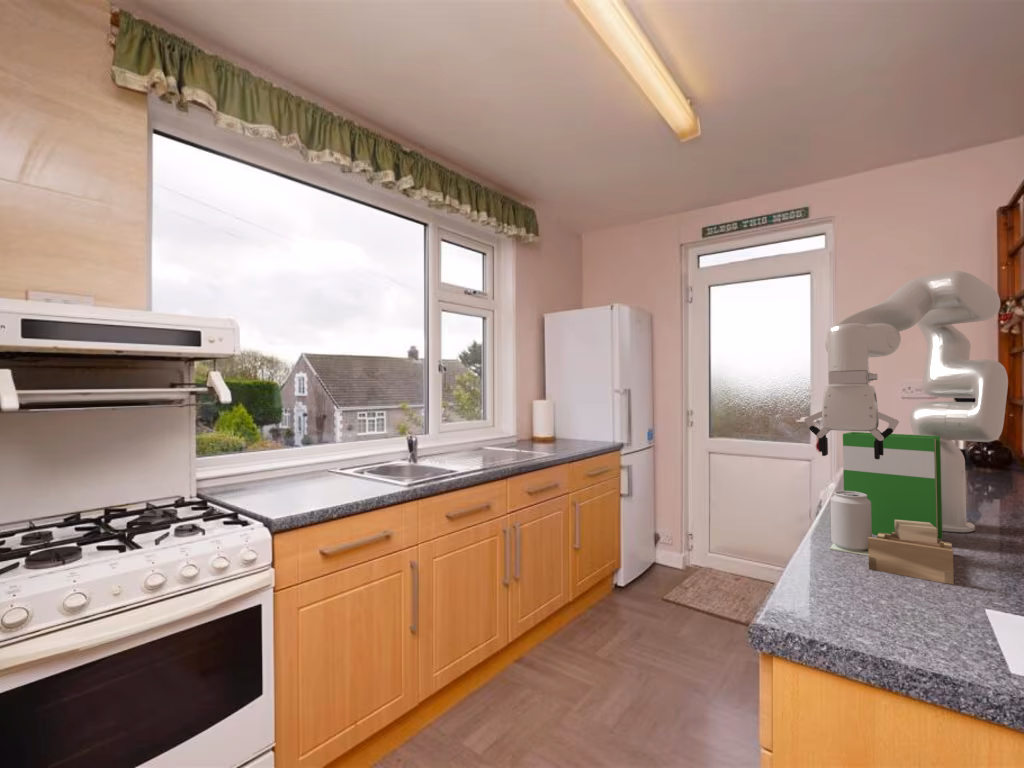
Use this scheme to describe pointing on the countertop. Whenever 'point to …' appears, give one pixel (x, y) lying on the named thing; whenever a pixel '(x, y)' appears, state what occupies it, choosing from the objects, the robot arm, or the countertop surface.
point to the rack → (911, 559)
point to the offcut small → (916, 531)
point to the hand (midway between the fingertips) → (850, 456)
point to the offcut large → (895, 538)
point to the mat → (849, 550)
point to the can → (851, 520)
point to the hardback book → (896, 478)
